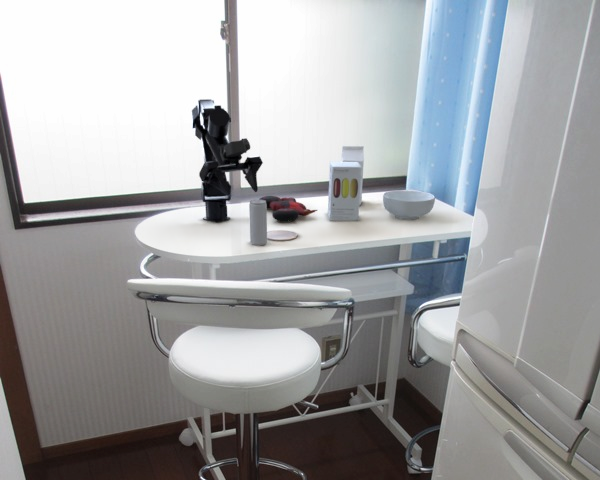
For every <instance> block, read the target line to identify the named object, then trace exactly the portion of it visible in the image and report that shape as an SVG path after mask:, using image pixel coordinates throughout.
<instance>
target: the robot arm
mask: <svg viewBox="0 0 600 480" xmlns="http://www.w3.org/2000/svg"><path fill="white" fill-rule="evenodd" d="M196 103H197V104H196V105H195V107H193V108H192V109H191V113H190V123H191V125H190V126H191V129H193V132H194V136H195V137H196V138H197V139H198V140H200V143H201V150H202V155H203V161H204V163H203V164H202V167H201V169H200V171H199V174H198V177H199V178H200V180H201V188H200V196H201V197H200V198H201V200H202V202H203V203H204V206H205V216H204V217H202V220H203V221H208V222H212V223H217V224H218V223H221V222H224V221H228V220H231V217H230V216H228V205H227V201H228V202H230V200H232V185H231V184H230V181H229V180H228V179H227V175H226V173H232V172H240V171H242V173H243V175H245V176H244V179H245V180H246V181H247V183H248V185H249V186H250V188H251V189H252V190H253V192H254V193H257V192H258V191H259V189H258V179H257V174H258V172H259V170H260V168H261V167H262V165H263V164H264V162H263V160H262V158H261V156H260V155H252V156H247V157H246V159H245V160H244V161H243V162H240V161H241V160H242V158H243V154H246V153H247V152H248V151H249V150H251V144H250V141H249V140H248V138H241V139H239V140H235V141H230V140H229V139H228V134H229V127H230V124H231V123H232V117H231V116H230V114H229V113H228V111H226V109H225V108H224V107H222V105H215V100H214V99H211V98H210V99H209V98H208V99H205V98H204V99H202V98H201V99H200V98H199V100H197V101H196Z"/></svg>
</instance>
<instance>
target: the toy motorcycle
mask: <svg viewBox="0 0 600 480" xmlns="http://www.w3.org/2000/svg"><path fill="white" fill-rule="evenodd" d="M258 200H265V201H266V204H267V210H272V211H273V212H272V218H273V219H274V220H276V221H277V222H282V223H288V222H289V223H290V222H293V221H296V220H298V218H299V217H300V216H301V217H306V216H309V215H311V214H313V213H315V212H317V211H318V209H312V210H311V209H309V208H307V207H306V205H304V203H302V202H299V201H297V200H296V198H294V197H281V198H280V197H278V196H276V195H265V196H262V197H259V199H258Z"/></svg>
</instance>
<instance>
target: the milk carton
mask: <svg viewBox="0 0 600 480" xmlns="http://www.w3.org/2000/svg"><path fill="white" fill-rule="evenodd" d="M341 149H342V150H341V162H358V163H359V165H360V166H361V182H360V198H359V206H362V200H363V199H362V198H363V181H364V161H365V158H364V156H365V155H364V146H359V145H357V146H355V145H342V147H341Z"/></svg>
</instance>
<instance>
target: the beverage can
mask: <svg viewBox="0 0 600 480" xmlns="http://www.w3.org/2000/svg"><path fill="white" fill-rule="evenodd" d="M248 207H249V241H250V244H251V245H252V246H256V247H261V246H266V244H267V243H268V239H267V232H268V214H267V213H268V209H267V204H266V201H265V200H259V199H251V200H250V201H249V206H248Z"/></svg>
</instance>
